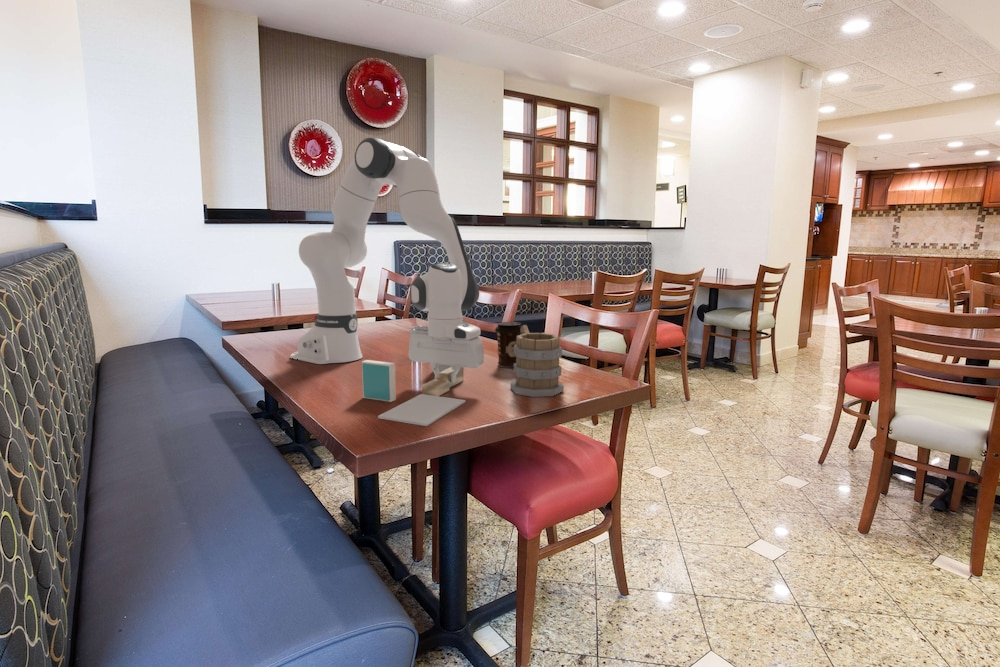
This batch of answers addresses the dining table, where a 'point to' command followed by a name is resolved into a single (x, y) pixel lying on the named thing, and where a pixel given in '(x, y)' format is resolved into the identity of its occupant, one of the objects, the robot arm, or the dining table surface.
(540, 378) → the tankard
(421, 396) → the mat
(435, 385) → the tan stepped bar
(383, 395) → the tile
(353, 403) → the dining table surface
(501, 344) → the coffee cup
